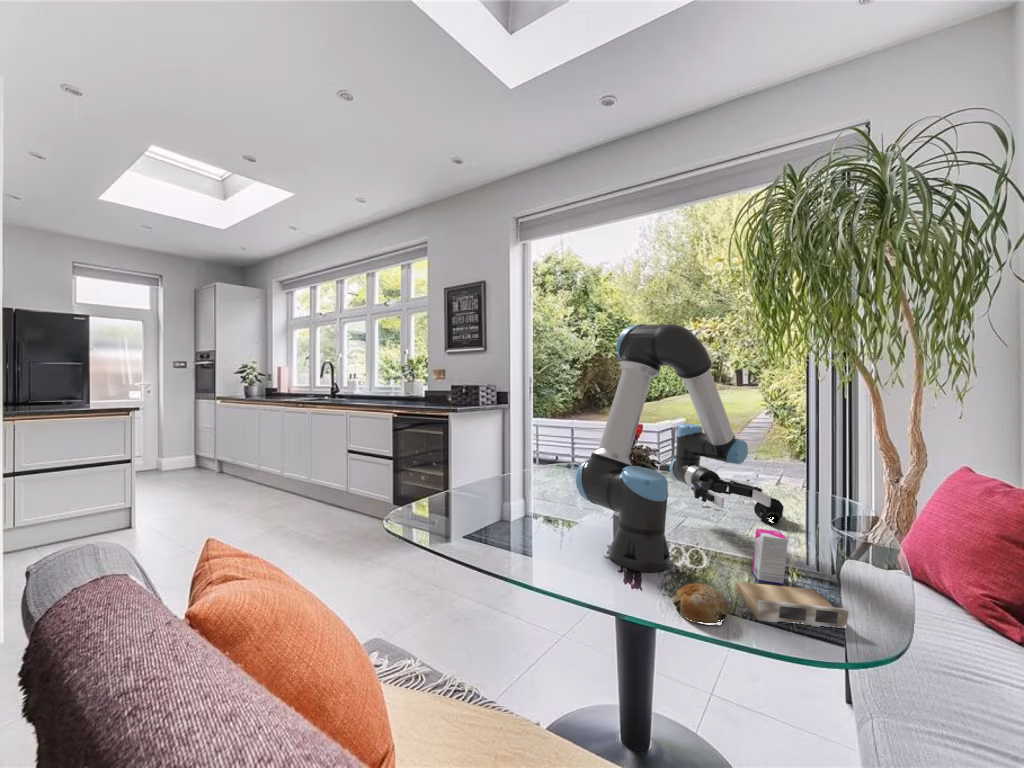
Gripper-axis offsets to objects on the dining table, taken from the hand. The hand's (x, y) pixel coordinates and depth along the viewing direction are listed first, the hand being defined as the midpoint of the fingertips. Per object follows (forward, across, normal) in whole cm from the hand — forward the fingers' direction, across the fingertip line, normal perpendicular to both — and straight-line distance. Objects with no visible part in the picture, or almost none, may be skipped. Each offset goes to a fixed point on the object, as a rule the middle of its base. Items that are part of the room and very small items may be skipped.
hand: (746, 502), depth 128 cm
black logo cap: (-31, -31, -17) cm, 47 cm away
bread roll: (+25, +27, -16) cm, 40 cm away
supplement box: (+11, +1, -16) cm, 19 cm away
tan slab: (+24, +6, -15) cm, 29 cm away
